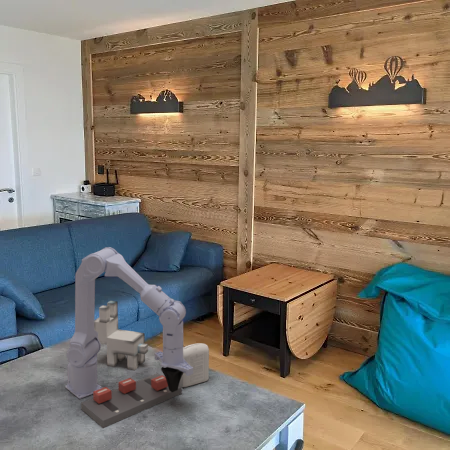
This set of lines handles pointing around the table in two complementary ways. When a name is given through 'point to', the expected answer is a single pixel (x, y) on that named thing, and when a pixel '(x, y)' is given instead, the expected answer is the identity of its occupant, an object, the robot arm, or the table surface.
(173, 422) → the table surface
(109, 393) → the switch
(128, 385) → the switch
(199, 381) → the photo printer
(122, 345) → the toy llama
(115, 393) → the slider switch panel
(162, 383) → the switch
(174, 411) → the table surface
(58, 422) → the table surface
